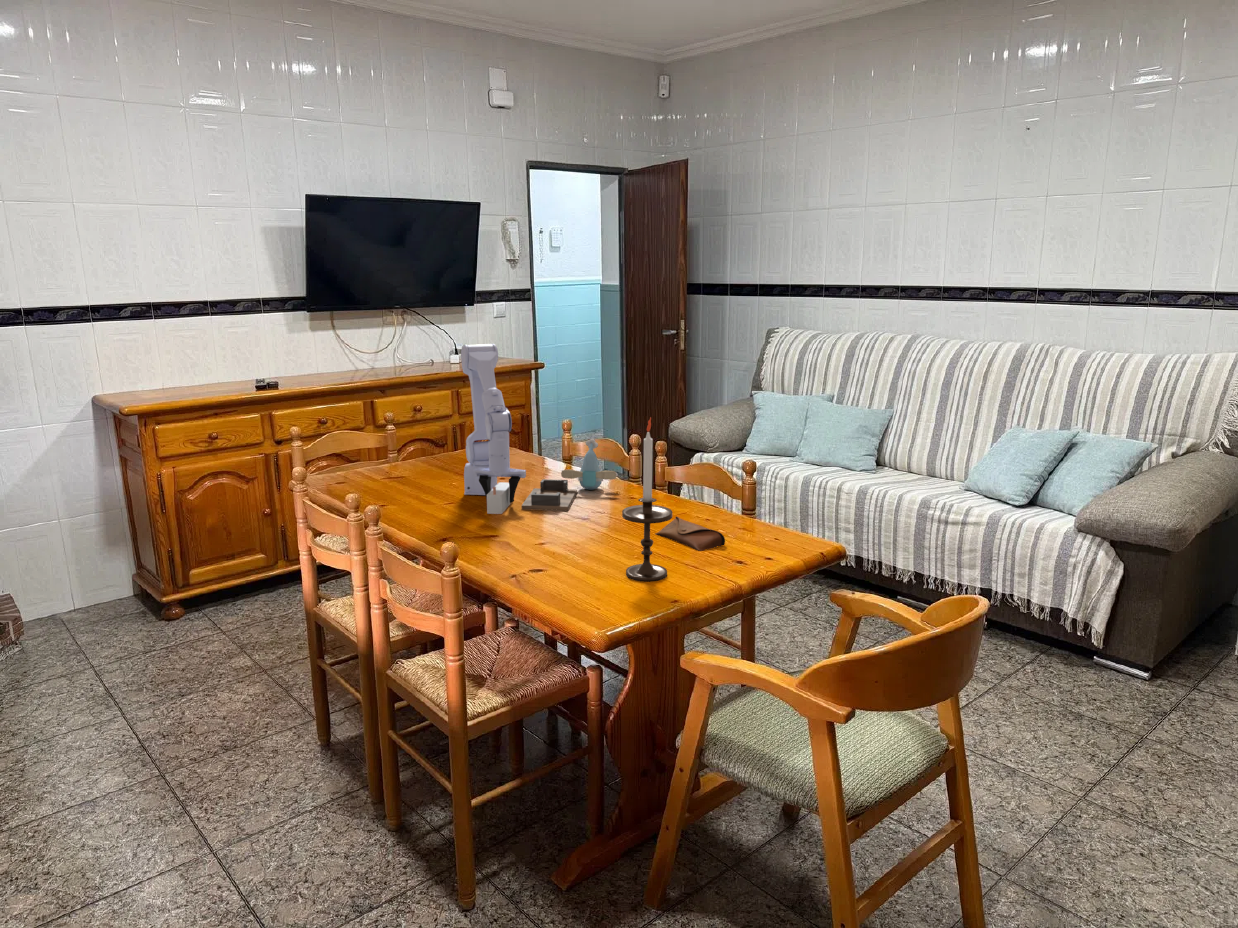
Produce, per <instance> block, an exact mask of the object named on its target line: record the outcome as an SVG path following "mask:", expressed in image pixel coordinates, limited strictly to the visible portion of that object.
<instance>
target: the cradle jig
mask: <svg viewBox="0 0 1238 928" xmlns="http://www.w3.org/2000/svg"><path fill="white" fill-rule="evenodd" d="M568 480H569V479H546V478H545V479H543V478H542V479H541V481H540V482H539V484H540V485H539V486H540V488H536V487H535V488H533V489H532V491H531V492H530V493H529V495H528V496H527V497H526V499H525V500H524V501H523V503H522V504H521V510H523V511H524V510H525V511H554V512H555V511H557V512H560V511H562V512H565V511H566V512H568V511H569V509H570V508H571V506H572V503H573V502H574V500H575V498H576V496H577V494H578V489H577V488H576V489H572V488H571V489H570V488H569V489H568V487H569V484H568Z"/></svg>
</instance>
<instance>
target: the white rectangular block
mask: <svg viewBox="0 0 1238 928" xmlns="http://www.w3.org/2000/svg"><path fill="white" fill-rule="evenodd" d="M511 504H512V503H510V488H509V482H505V481H504V482H501V481H499V482H497V485H496V486H495V487H493V489H492V490H491V491H490V492H489V493H488V494H487V499H486V512H487V513H486V514H488V515H489V514H491V515H494V514H495V515H502V514H503V513H505V511H506V510H507V508H508V507H510V505H511Z"/></svg>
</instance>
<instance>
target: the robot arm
mask: <svg viewBox="0 0 1238 928" xmlns="http://www.w3.org/2000/svg"><path fill="white" fill-rule="evenodd" d="M460 351H461V352H460V358H461V369H462V373H463V374H465V375H467V376H468V380H469V383H470V385H469V386H470V394H471V403H472V404H471V405H472V407H471V408H472V416H473V425H474V427H473V428H474V430H473V431H472V433H470V434H469V435H468V436H467V437H466V440H465V444H466V445H465V454H466V455H465V456H466V460H467V461H468V462H466V463H465V466H464V469H463V470H464V472H463V479H464V480H463V481H464V493H463V494H464V495H465V496H467V495H469V496H470V495H471V496H475V495H476V496H477V495H478V496H485V498H486V500H487V494H488V493H489V492H490V491H491V490H492V489H493V487H495V486H496V485H497V484H498V478H509V479H508V483H509V488H510V503H511V504H513V503H514V500H515V494H516V491H517V487H518V485H519V483H520V481H521V479H525V478H526V477H527V469H521V468H520V469H518V468H511V466H510V465H511V463H510V462H511V460H510V458H511V457H510V453H511V452H510V432H511V431H512V426H513V423H512V422H513V421H512V420H513V419H512V414H511V412H510V411H509V408H508V407H506V405H505V401H504V397H503V393H502V390H500V389H498V387H497V382H496V376H495V368H496V366H497V363H498V362H499V350H498V347H497V345H496V344H495V343H483V344H482V343H481V344H480V343H479V344H466V343H465V344H463V345H462V346H461V350H460Z"/></svg>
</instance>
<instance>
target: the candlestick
mask: <svg viewBox="0 0 1238 928" xmlns="http://www.w3.org/2000/svg"><path fill="white" fill-rule="evenodd" d="M647 424H648V425H647V427H646V431H647V432H646V435H645V438H643V472H642V473H643V474H642V475H643V479H642V482H643V483H642V484H643V486H642V487H643V488H642V489H643V490H642V497H641V498H638V502H640V503H642V504H639V505H638V504H637V505H631V506H628V507H625V508H623V509H622V511H621V516H622V519H624V520H626V521H627V522H631V523H637V524H643V538H642V539H641V540H640V545H641V546H642V549H643V550H642V551H640V552H641V553H640V554H641V555H642V556H643V562H642V563H638V564H633V565H631V566H629V567H627V568H626V570H625V577H627V578H628V579H630V580H632V581H635V582H640V583H641V582H642V583H653V582H660V581H662V580H664V579H666V578H667V577H668V570H667V568H665V567H664V566H662V565H657V564H652V563H651V560H650V559H651V558H650V557H651V555H653V551H652V550H651V547H652V546H654V545H653V544H654V540H653V539H651V524H659V523H660V524H661V523H665V522H667V521H670V520H671V519H673V510H672V509H671V508H668V507H666V506H661V505H655V504H653V503H654V502H657V500H658V499H656V498H653V445H654V444H653V442H654V441H653V438H652V437H651V434H650V431H651V427H652V417H649V420H648V421H647Z"/></svg>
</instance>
